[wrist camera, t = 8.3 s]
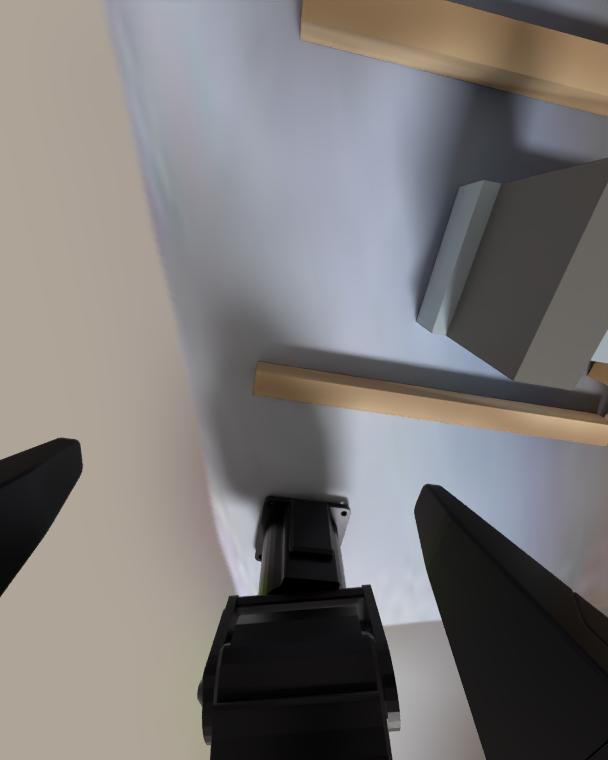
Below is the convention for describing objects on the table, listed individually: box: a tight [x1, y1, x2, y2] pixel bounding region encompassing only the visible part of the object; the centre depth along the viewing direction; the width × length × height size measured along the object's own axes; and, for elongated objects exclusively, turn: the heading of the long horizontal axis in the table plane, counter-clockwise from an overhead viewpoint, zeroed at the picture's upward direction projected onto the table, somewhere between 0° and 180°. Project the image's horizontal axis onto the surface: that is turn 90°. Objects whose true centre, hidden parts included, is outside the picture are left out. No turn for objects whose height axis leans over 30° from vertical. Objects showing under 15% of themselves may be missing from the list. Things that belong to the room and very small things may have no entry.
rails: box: [253, 0, 608, 446], centre depth 18 cm, size 18×23×2 cm
